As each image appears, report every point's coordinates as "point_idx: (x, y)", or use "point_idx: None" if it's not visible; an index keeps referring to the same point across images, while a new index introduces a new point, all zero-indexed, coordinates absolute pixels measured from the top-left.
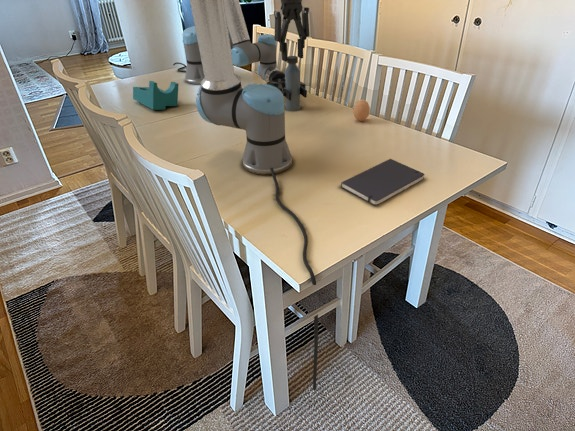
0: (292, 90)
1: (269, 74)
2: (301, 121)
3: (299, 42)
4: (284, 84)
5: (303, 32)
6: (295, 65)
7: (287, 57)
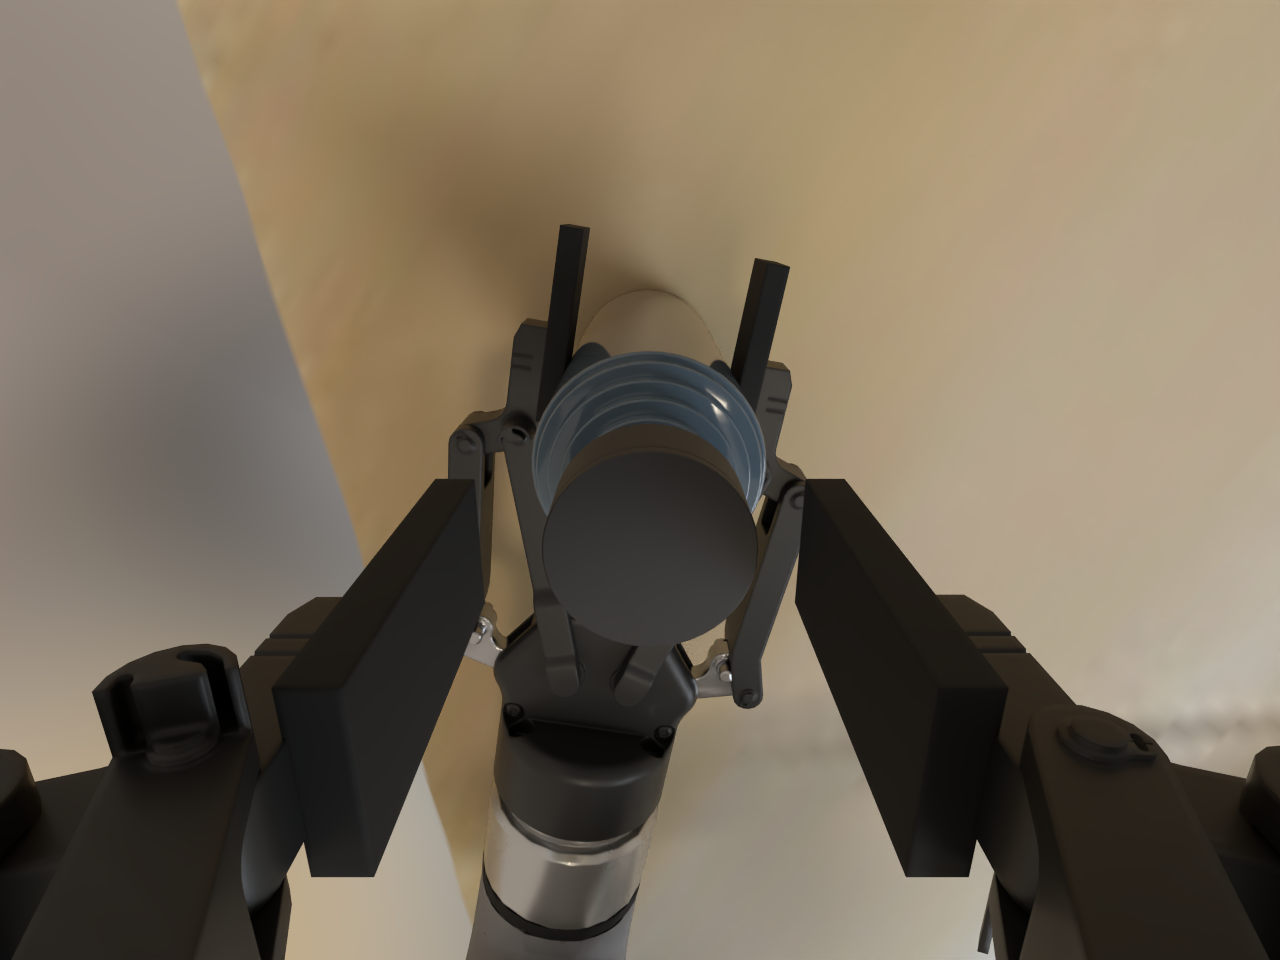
0: (699, 332)
1: (639, 837)
2: (774, 12)
3: (389, 725)
4: None
5: (72, 917)
6: None
7: (735, 591)
